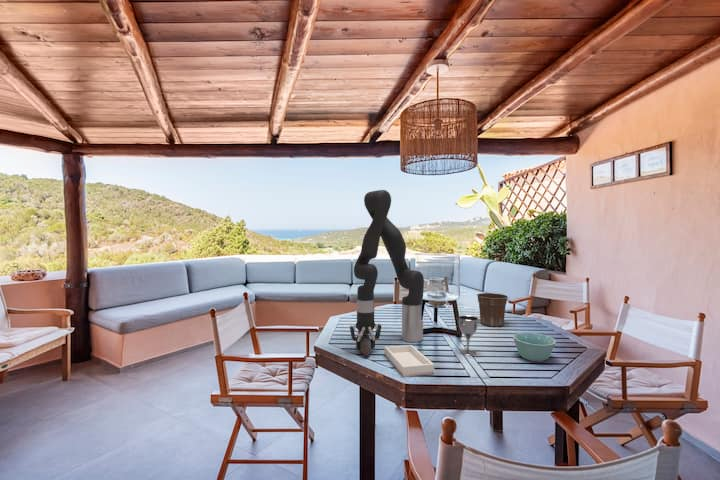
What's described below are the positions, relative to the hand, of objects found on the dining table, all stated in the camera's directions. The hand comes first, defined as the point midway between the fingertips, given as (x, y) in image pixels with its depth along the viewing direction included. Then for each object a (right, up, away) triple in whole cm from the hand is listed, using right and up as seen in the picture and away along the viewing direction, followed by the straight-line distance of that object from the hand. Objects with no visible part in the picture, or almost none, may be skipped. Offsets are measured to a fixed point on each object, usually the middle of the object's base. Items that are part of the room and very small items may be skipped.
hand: (365, 349), depth 150 cm
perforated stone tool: (0, -2, 0) cm, 2 cm away
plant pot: (+71, 0, +45) cm, 84 cm away
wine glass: (+44, -2, +1) cm, 44 cm away
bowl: (+69, -2, -6) cm, 70 cm away
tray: (+16, -2, -12) cm, 21 cm away
